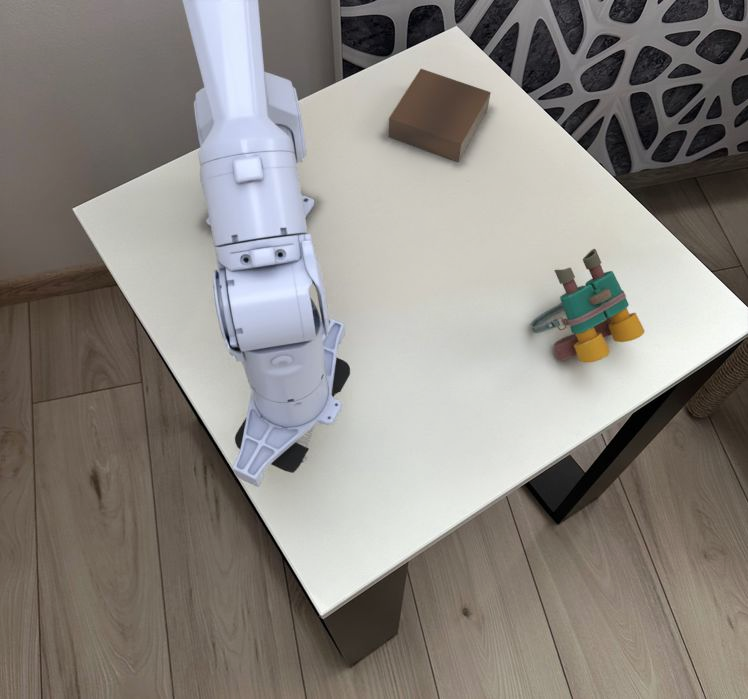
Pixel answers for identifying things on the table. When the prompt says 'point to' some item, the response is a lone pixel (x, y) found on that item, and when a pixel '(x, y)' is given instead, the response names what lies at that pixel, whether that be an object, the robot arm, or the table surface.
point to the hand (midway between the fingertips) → (300, 436)
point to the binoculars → (590, 314)
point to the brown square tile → (439, 114)
